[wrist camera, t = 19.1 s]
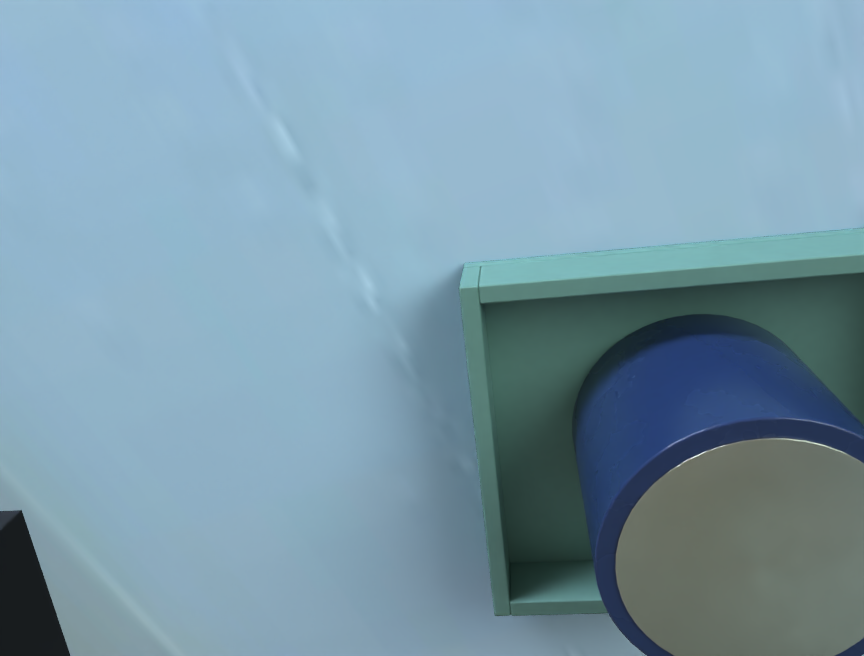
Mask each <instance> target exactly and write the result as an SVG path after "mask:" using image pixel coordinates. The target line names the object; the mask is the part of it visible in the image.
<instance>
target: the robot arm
mask: <svg viewBox="0 0 864 656" xmlns="http://www.w3.org/2000/svg"><path fill="white" fill-rule="evenodd" d="M0 656H70V653H69V650H68V648H67V645H66V642H65V639H64V636H63V633H62V630H61V627H60V624H59V621H58V618H57V615H56V612H55V609H54V606H53V603H52V600H51V597H50V594H49V591H48V588H47V585H46V582H45V579H44V576H43V573H42V570H41V567H40V564H39V561H38V558H37V555H36V552H35V549H34V546H33V543H32V540H31V537H30V534H29V531H28V528H27V525H26V522H25V519H24V516H23V513H22V510H20V511H0Z"/></svg>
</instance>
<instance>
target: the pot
mask: <svg viewBox="0 0 864 656" xmlns="http://www.w3.org/2000/svg"><path fill="white" fill-rule="evenodd" d="M572 437H573V444H574V450H575V456H576V462H577V468H578V474H579V480H580V486H581V492H582V498H583V504H584V510H585V516H586V522H587V528H588V534H589V540H590V547H591V553H592V559H593V565H594V571H595V577H596V583H597V587H598V590H599V593H600V596H601V599H602V602H603V604H604V606H605V608H606V610H607V612H608V614H609V616H610V617H611V619H612V620H613V622H614V623H615V625H616V626H617V627H618V629H619V630H620V631H621V632H622V633H623V634H624V635H625V637H626V638H627V639H628V640H629V641H630V642H631V643H632V644H633V645H634V646H636V647H637V648H638V649H639V650H640V651H642V652H643V653H644V654H645V655H647V656H862V655H863V654H864V425H863V424H862V423H861V422H860V421H859V420H858V419H857V418H856V417H855V415H854V414H853V413H852V412H851V411H850V410H849V409H848V408H847V407H846V406H845V405H844V404H843V403H842V402H841V401H840V400H839V399H838V398H837V397H836V396H835V394H834V393H833V392H832V391H831V390H830V389H829V388H828V387H827V386H826V385H825V384H824V383H823V382H822V381H821V380H820V379H819V378H818V377H817V376H816V375H815V373H814V372H813V371H812V370H811V369H810V368H809V367H808V366H807V365H806V364H805V363H804V362H803V361H802V360H801V359H800V358H799V357H798V356H797V355H796V354H795V352H794V351H793V350H791V349H790V348H789V347H788V346H787V345H786V344H785V343H784V342H783V341H782V340H781V339H779V338H778V337H776V336H775V335H774V334H772V333H771V332H769V331H767V330H765V329H763V328H761V327H760V326H758V325H755V324H753V323H750V322H747V321H744V320H742V319H738V318H733V317H729V316H724V315H713V314H691V315H683V316H676V317H672V318H668V319H664V320H660V321H657V322H655V323H652V324H650V325H647V326H644V327H642V328H640V329H638V330H636V331H635V332H633V333H631V334H629V335H627V336H626V337H625V338H623V339H622V340H620V341H619V342H617V343H616V344H615V345H614V346H612V347H611V348H610V349H609V350H608V351H607V352H606V353H605V354H604V355H603V356H602V357H601V358H600V359H599V360H598V361H597V363H596V364H595V365H594V366H593V367H592V369H591V371H590V372H589V374H588V375H587V377H586V378H585V380H584V382H583V384H582V386H581V388H580V391H579V393H578V396H577V399H576V402H575V406H574V411H573V418H572Z"/></svg>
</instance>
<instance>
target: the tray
mask: <svg viewBox="0 0 864 656" xmlns="http://www.w3.org/2000/svg"><path fill="white" fill-rule="evenodd" d="M459 295H460V304H461V313H462V322H463V331H464V340H465V350H466V359H467V368H468V377H469V386H470V395H471V404H472V414H473V423H474V432H475V441H476V450H477V459H478V469H479V478H480V487H481V496H482V505H483V514H484V523H485V533H486V542H487V551H488V560H489V569H490V578H491V588H492V597H493V606H494V614H495V616H509V615H512V616H520V615H558V614H596V613H608V612H607V610H606V608H605V606H604V604H603V602H602V599H601V596H600V593H599V590H598V587H597V583H596V577H595V571H594V565H593V559H592V553H591V547H590V540H589V534H588V528H587V522H586V516H585V510H584V504H583V498H582V492H581V486H580V480H579V474H578V468H577V462H576V456H575V450H574V444H573V437H572V418H573V411H574V406H575V402H576V399H577V396H578V393H579V391H580V388H581V386H582V384H583V382H584V380H585V378H586V377H587V375H588V374H589V372H590V371H591V369H592V367H593V366H594V365H595V364H596V363H597V361H598V360H599V359H600V358H601V357H602V356H603V355H604V354H605V353H606V352H607V351H608V350H609V349H610V348H611V347H612V346H614V345H615V344H616V343H617V342H619V341H620V340H622V339H623V338H625V337H626V336H627V335H629V334H631V333H633V332H635V331H636V330H638V329H640V328H642V327H644V326H647V325H650V324H652V323H655V322H657V321H660V320H664V319H668V318H672V317H676V316H683V315H691V314H713V315H724V316H729V317H733V318H738V319H742V320H744V321H747V322H750V323H753V324H755V325H758V326H760V327H761V328H763V329H765V330H767V331H769V332H771V333H772V334H774V335H775V336H776V337H778V338H779V339H781V340H782V341H783V342H784V343H785V344H786V345H787V346H788V347H789V348H790V349H791V350H793V351H794V352H795V354H796V355H797V356H798V357H799V358H800V359H801V360H802V361H803V362H804V363H805V364H806V365H807V366H808V367H809V368H810V369H811V370H812V371H813V372H814V373H815V375H816V376H817V377H818V378H819V379H820V380H821V381H822V382H823V383H824V384H825V385H826V386H827V387H828V388H829V389H830V390H831V391H832V392H833V393H834V394H835V396H836V397H837V398H838V399H839V400H840V401H841V402H842V403H843V404H844V405H845V406H846V407H847V408H848V409H849V410H850V411H851V412H852V413H853V414H854V415H855V417H856V418H857V419H858V420H859V421H860V422H861V423H862V424H863V425H864V228H857V229H846V230H835V231H823V232H812V233H801V234H789V235H778V236H767V237H755V238H744V239H733V240H721V241H710V242H699V243H687V244H676V245H665V246H653V247H642V248H631V249H619V250H608V251H597V252H585V253H574V254H563V255H551V256H540V257H529V258H517V259H506V260H495V261H483V262H472V263H464V266H463V272H462V276H461V281H460V286H459Z"/></svg>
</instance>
